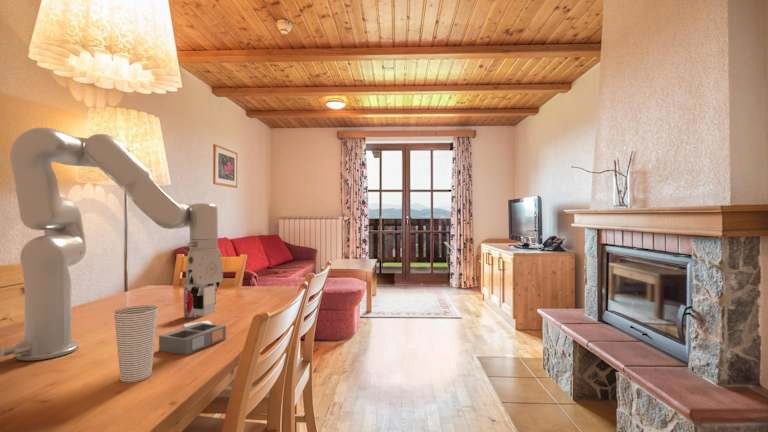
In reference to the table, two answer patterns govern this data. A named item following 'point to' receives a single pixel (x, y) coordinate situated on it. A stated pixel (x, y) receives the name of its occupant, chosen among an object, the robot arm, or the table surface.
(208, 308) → the cream rectangular block
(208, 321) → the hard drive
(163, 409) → the table surface
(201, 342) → the grey compartment tray
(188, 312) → the soda can
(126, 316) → the cup
